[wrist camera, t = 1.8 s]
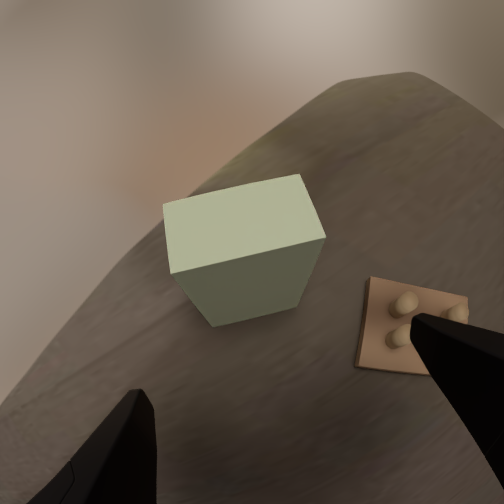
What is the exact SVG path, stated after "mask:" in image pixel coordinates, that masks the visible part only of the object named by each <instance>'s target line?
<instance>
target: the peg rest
mask: <svg viewBox="0 0 504 504" xmlns="http://www.w3.org/2000/svg"><path fill="white" fill-rule="evenodd" d="M419 313H427V314H430V315H434V316H438V317H442V318H445V319H449V320H453V321H456V322H460V323H464V324H468V315H469V309H468V297H464V296H460V295H455V294H450V293H446V292H441V291H436V290H432V289H427V288H423V287H418V286H413V285H409V284H404V283H399V282H395V281H390V280H386V279H381V278H376V277H372V276H371V277H370V278H369V279H368V280H367V283H366V292H365V301H364V309H363V316H362V324H361V330H360V337H359V343H358V349H357V355H356V361H355V366H354V367H360V368H366V369H374V370H381V371H389V372H398V373H407V374H417V375H428V376H431V375H430V374H429V372H428V370H427V369H426V367H425V365H424V363H423V362H422V360H421V358H420V356H419V355H418V353H417V351H416V350H415V348H414V346H413V344H412V343H411V341H410V327H411V320H412V317H413V316H415V315H417V314H419Z"/></svg>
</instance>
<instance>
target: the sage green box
mask: <svg viewBox="0 0 504 504" xmlns="http://www.w3.org/2000/svg"><path fill="white" fill-rule="evenodd" d="M163 212H164V223H165V232H166V241H167V249H168V257H169V265H170V272H171V275H172V276H173V278H174V279H175V280H176V282H177V283H178V284H179V285H180V287H181V288H182V289H183V291H184V292H185V293H186V295H187V296H188V297H189V298H190V300H191V301H192V302H193V304H194V305H195V306H196V307H197V309H198V310H199V311H200V312H201V314H202V315H203V316H204V317H205V319H206V320H207V321H208V322H209V324H210V325H211V326H212V327H218V326H222V325H226V324H231V323H235V322H239V321H243V320H248V319H252V318H256V317H260V316H264V315H268V314H272V313H276V312H279V311H283V310H287V309H291V308H295V307H297V306H298V303H299V301H300V299H301V297H302V294H303V292H304V290H305V287H306V285H307V283H308V280H309V278H310V276H311V273H312V271H313V268H314V266H315V264H316V261H317V259H318V256H319V254H320V251H321V249H322V247H323V244H324V242H325V239H326V235H325V233H324V230H323V228H322V225H321V223H320V220H319V218H318V216H317V213H316V211H315V209H314V206H313V204H312V201H311V199H310V197H309V194H308V192H307V190H306V188H305V185H304V183H303V181H302V179H301V176H300V174H297V175H291V176H286V177H280V178H275V179H270V180H265V181H260V182H255V183H250V184H246V185H241V186H236V187H232V188H227V189H223V190H218V191H214V192H210V193H205V194H201V195H197V196H193V197H189V198H185V199H181V200H177V201H173V202H169V203H165V204H163Z"/></svg>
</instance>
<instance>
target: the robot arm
mask: <svg viewBox="0 0 504 504" xmlns="http://www.w3.org/2000/svg"><path fill="white" fill-rule="evenodd" d="M410 341H411V343H412V344H413V346H414V348H415V350H416V351H417V353H418V355H419V356H420V358H421V360H422V362H423V363H424V365H425V367H426V369H427V370H428V372H429V374H430V375H431V377H432V378H433V379H434V381H435V382H436V384H437V385H438V386H439V388H440V389H441V391H442V392H443V393H444V395H445V396H446V398H447V399H448V401H449V402H450V404H451V405H452V407H453V408H454V409H455V411H456V412H457V414H458V415H459V417H460V418H461V420H462V421H463V423H464V424H465V426H466V427H467V429H468V431H469V432H470V434H471V435H472V437H473V438H474V440H475V442H476V443H477V445H478V446H479V448H480V450H481V451H482V453H483V454H484V456H485V458H486V460H487V461H488V463H489V465H490V466H491V468H492V470H493V472H494V473H495V475H496V477H497V478H498V480H499V482H500V484H501V486H502V487H503V489H504V334H502V333H498V332H494V331H491V330H487V329H483V328H479V327H475V326H472V325H468V324H464V323H460V322H456V321H453V320H449V319H445V318H442V317H438V316H434V315H430V314H427V313H419V314H417V315H415V316H413V317H412V320H411V327H410ZM156 476H157V444H156V432H155V418H154V409H153V406H152V404H151V402H150V401H149V399H148V397H147V396H146V394H145V392H144V391H143V390H142V389H133V390H129V391H128V392H127V394H126V395H125V396H124V397H123V398H122V399H121V401H120V402H119V403H118V404H117V405H116V406H115V408H114V409H113V410H112V411H111V412H110V413H109V415H108V416H107V417H106V418H105V419H104V420H103V422H102V423H101V424H100V425H99V426H98V427H97V428H96V430H95V431H94V432H93V433H92V434H91V435H90V437H89V438H88V439H87V440H86V441H85V442H84V444H83V445H82V446H81V447H80V448H79V449H78V451H77V452H76V453H75V454H74V455H73V456H72V458H71V459H70V461H68V462H67V463H66V465H65V466H64V467H63V468H62V469H61V470H60V471H59V472H58V474H57V475H56V476H55V477H54V478H53V479H52V480H51V481H50V482H49V483H48V484H47V485H46V486H45V487H44V488H43V489H42V490H41V491H39V492H38V493H37V494H36V495H35V496H34V497H33V498H32V499H31V500H30V501H29V502H28V503H27V504H156Z"/></svg>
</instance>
